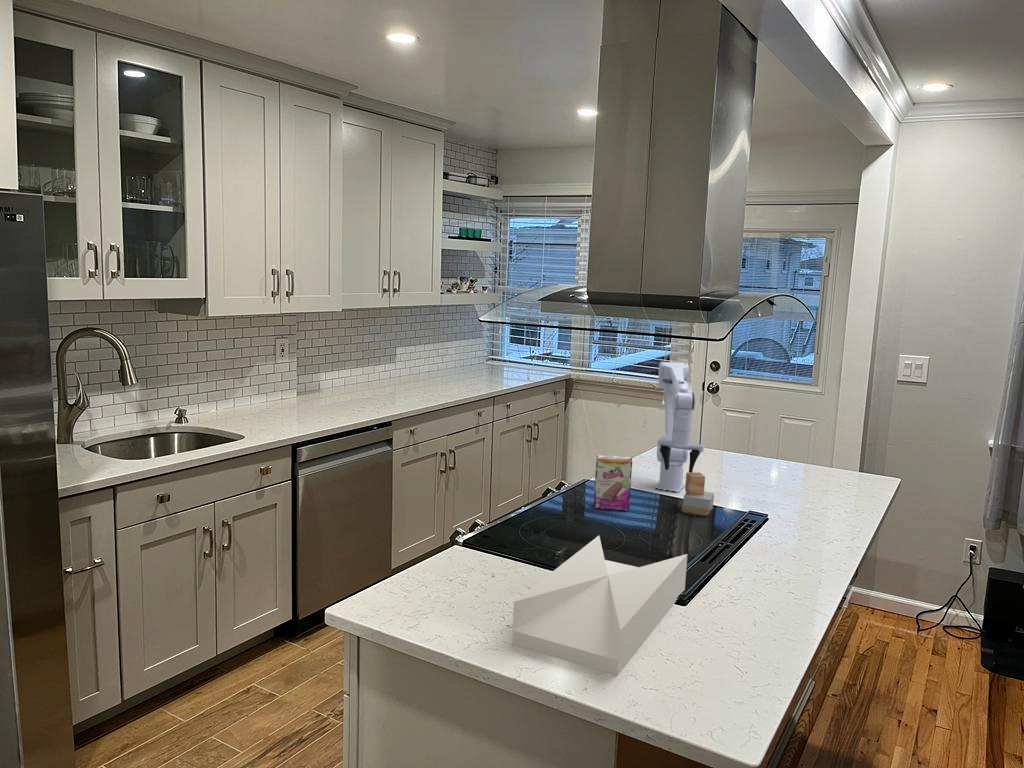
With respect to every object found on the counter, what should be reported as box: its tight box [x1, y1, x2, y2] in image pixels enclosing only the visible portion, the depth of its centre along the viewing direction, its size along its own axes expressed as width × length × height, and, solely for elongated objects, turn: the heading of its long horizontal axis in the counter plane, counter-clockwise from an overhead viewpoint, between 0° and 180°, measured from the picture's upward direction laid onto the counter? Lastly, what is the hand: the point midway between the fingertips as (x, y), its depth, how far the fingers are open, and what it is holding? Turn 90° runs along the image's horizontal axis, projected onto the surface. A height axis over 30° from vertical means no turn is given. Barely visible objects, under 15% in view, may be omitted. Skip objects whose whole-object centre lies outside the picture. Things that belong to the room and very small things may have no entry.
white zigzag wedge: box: [511, 535, 688, 677], centre depth 167 cm, size 45×22×10 cm, turn 152°
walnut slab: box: [680, 503, 714, 515], centre depth 242 cm, size 8×8×3 cm
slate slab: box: [682, 491, 715, 509], centre depth 242 cm, size 8×8×3 cm
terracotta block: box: [684, 471, 706, 495], centre depth 242 cm, size 4×4×6 cm
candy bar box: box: [593, 454, 633, 511], centre depth 241 cm, size 11×5×16 cm, turn 84°
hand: (678, 470), depth 250 cm, fingers open, 7 cm apart
